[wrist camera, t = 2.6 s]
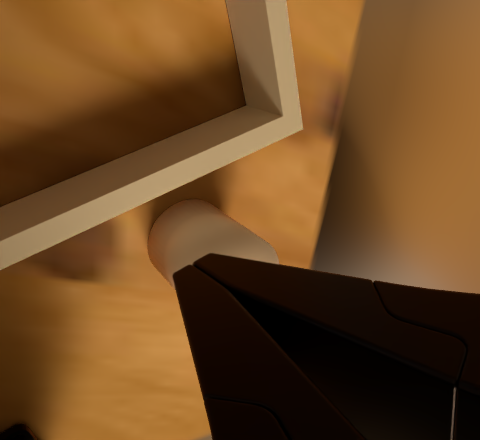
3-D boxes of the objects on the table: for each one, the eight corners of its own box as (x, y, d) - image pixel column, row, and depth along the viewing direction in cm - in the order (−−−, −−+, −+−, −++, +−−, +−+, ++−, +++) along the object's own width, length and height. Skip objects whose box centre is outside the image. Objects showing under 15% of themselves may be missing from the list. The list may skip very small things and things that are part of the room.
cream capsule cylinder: (231, 252, 25) (285, 296, 21) (162, 291, 24) (207, 345, 20) (213, 185, 23) (270, 220, 19) (135, 222, 21) (181, 268, 17)
